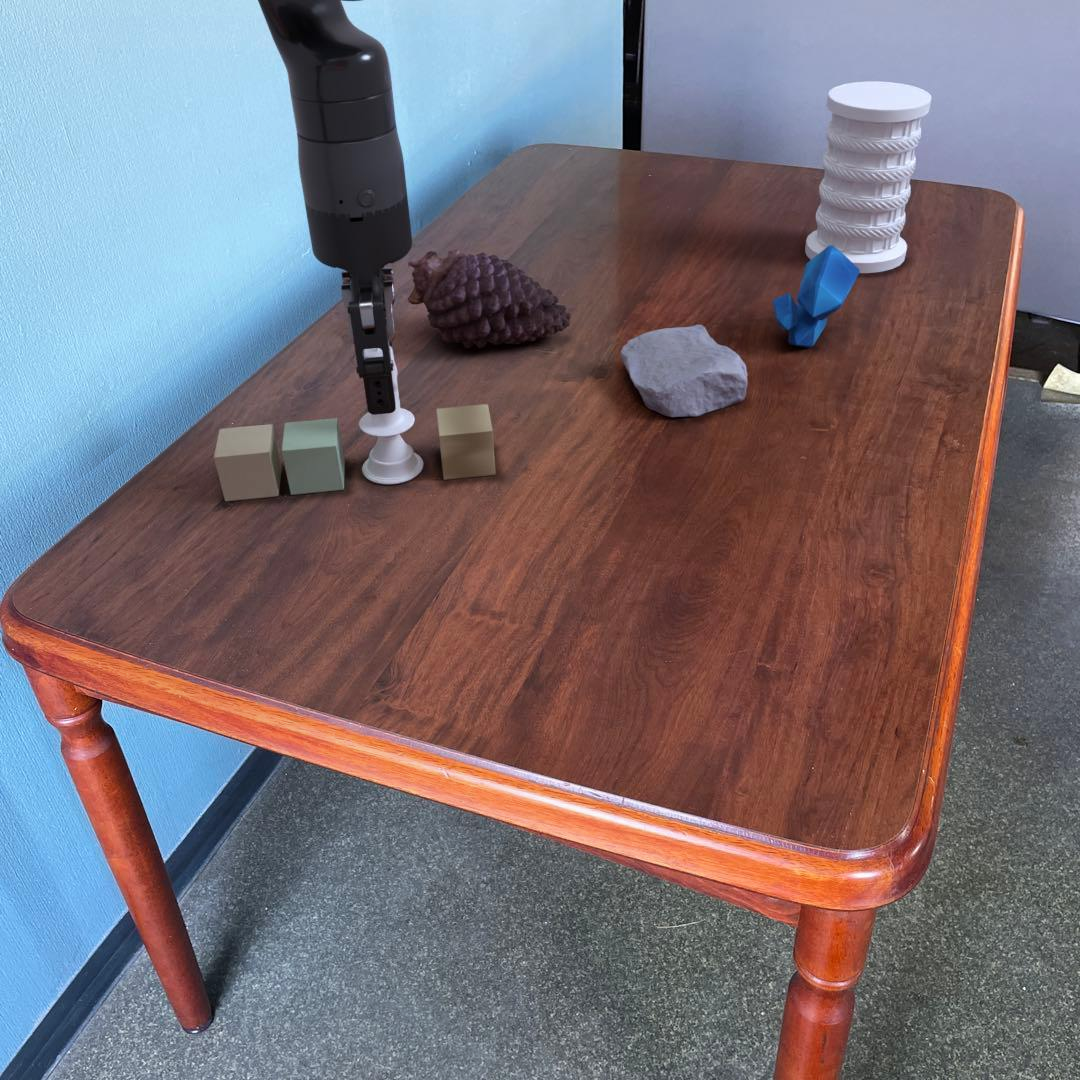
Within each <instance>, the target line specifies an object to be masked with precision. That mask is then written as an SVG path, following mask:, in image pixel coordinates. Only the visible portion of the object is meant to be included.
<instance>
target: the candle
mask: <svg viewBox="0 0 1080 1080" xmlns="http://www.w3.org/2000/svg"><path fill="white" fill-rule="evenodd" d="M392 348H393V347H392ZM392 348H391V346H390V353H391V360H393V364H394V367H393V371H392V380H393V388H394V395H395V403H396V409H395V411H394V412H393V413H388V414H377V415H372V414H370V413H369V412H368V411H367V413H365V414H364V415H363V416H361V418H360V419H359V421H358V427H359V428H360V430H361V431H362V432H363V433H365V434H366V435H369V436H372V437H377V439H376V442H375V445H374V447H372V448H371V450H370V451H369V455H368V458H367V459H366V460H365V461H364V463H363V465H362V468H361V471H362V475H363V476H364V477H365V478H366V479H367V480H369V481H370V482H372V483H376V484H379V485H398V484H403V483H405V482H406V483H407V482H408V481H411V480H413V479H414V478H416V477H418V475H420V474H421V472H422V470H423V469H424V461H423V458H422V457H421V456H420V455H419V454H417V453H416V452H415V451H414V448H413V447H412V446H411V445H410V444H408V443H406V442H405V440H404V439H403V438H402V436H401V434H403V433H405V432H407V431H408V430H409V429H411V428H412V427H413V425H414V423H415V416H414V414H413V413H412V412H411V411H410V410H408V409H405V408H403V407H401V402H400V395H399V394H400V393H399V386H398V385H399V384H398V375H399V374H398V372H399V371H398V367H397V364H396V360H395V355H394V349H393V350H392ZM382 356H383V353H382V350H381V349H380V348H372V349H365V358H370V357H382Z"/></svg>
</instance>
